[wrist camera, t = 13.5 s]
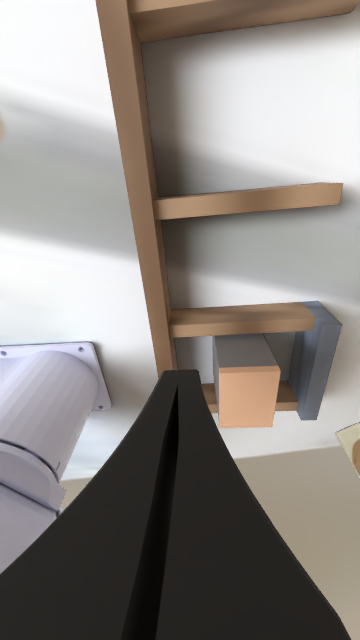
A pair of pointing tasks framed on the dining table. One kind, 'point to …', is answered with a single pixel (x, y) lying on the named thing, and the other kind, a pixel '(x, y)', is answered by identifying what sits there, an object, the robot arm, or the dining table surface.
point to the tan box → (245, 380)
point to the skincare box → (351, 444)
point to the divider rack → (148, 210)
